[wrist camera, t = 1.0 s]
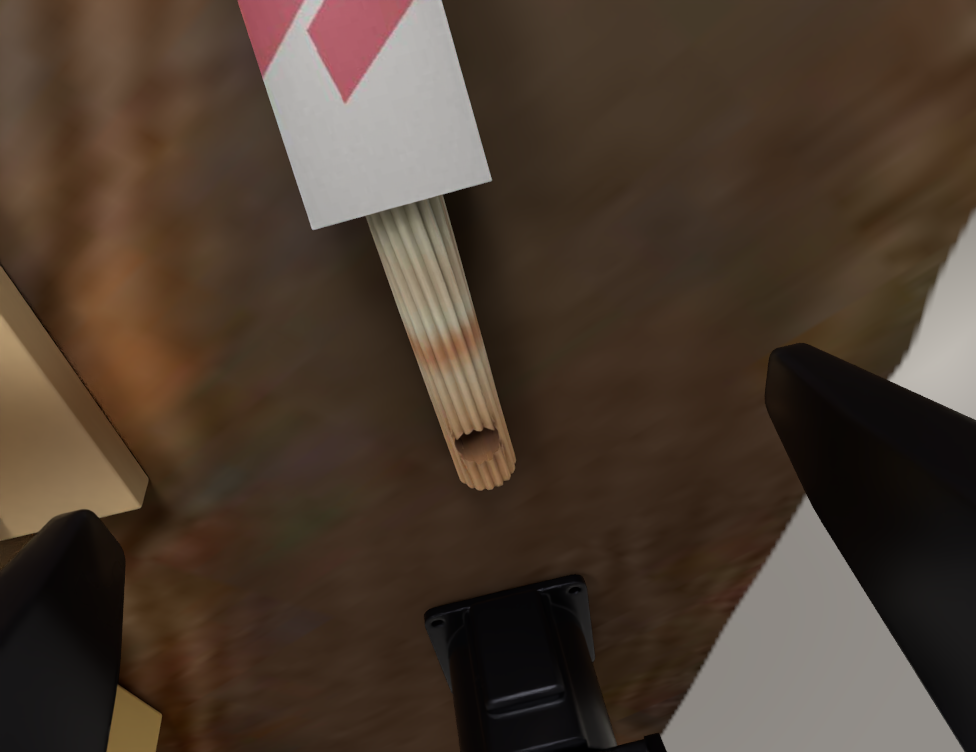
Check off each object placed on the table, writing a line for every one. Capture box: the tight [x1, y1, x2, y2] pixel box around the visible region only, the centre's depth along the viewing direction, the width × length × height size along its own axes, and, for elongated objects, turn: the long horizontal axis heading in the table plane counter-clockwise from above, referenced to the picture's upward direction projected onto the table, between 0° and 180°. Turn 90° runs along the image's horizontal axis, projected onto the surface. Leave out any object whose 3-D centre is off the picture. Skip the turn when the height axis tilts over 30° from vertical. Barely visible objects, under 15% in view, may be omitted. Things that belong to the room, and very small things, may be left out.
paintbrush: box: [238, 0, 516, 491], centre depth 16 cm, size 4×3×20 cm
